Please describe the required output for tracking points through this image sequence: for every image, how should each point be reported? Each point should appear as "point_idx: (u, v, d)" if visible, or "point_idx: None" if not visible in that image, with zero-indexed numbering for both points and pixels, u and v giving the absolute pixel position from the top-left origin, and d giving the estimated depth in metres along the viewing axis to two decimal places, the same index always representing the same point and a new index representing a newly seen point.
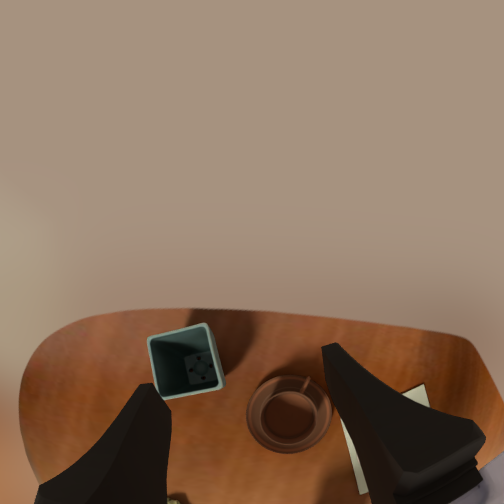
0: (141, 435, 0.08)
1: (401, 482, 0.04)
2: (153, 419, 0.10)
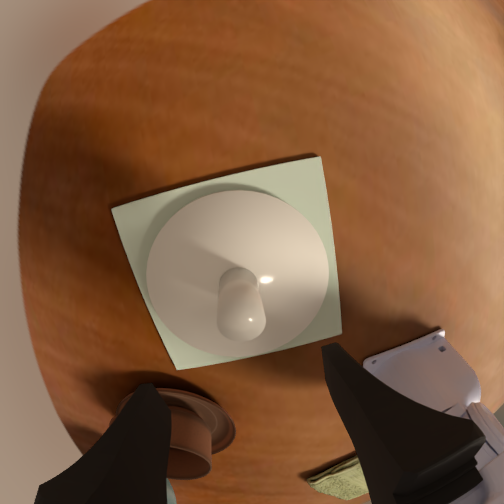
0: (141, 435, 0.08)
1: (401, 482, 0.04)
2: (153, 419, 0.10)
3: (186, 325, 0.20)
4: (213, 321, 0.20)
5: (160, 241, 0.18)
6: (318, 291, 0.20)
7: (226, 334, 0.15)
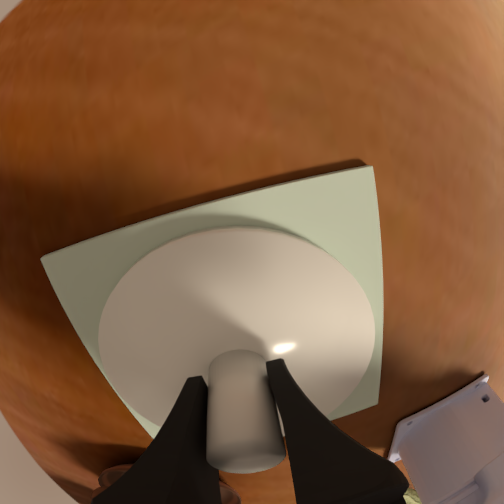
0: (197, 431, 0.08)
1: None
2: (205, 413, 0.10)
3: (167, 415, 0.13)
4: None
5: (110, 313, 0.10)
6: (356, 368, 0.13)
7: (223, 468, 0.08)
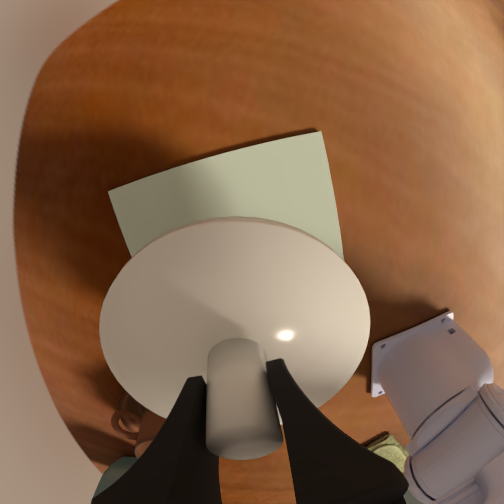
0: (197, 431, 0.08)
1: None
2: (205, 413, 0.10)
3: (167, 403, 0.13)
4: None
5: (112, 303, 0.11)
6: (352, 357, 0.13)
7: (222, 454, 0.08)
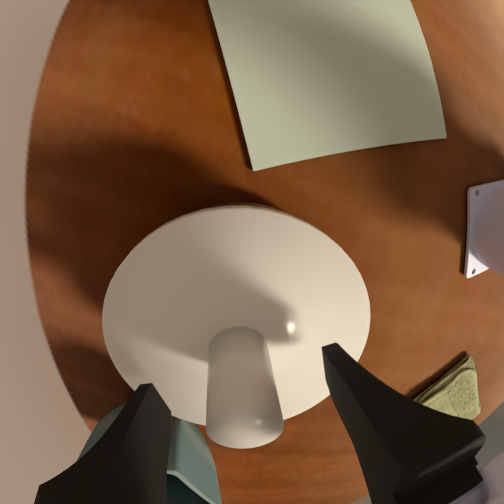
0: (141, 435, 0.08)
1: (401, 482, 0.04)
2: (153, 419, 0.10)
3: (164, 394, 0.13)
4: (201, 391, 0.13)
5: (118, 285, 0.11)
6: (351, 353, 0.13)
7: (221, 442, 0.09)
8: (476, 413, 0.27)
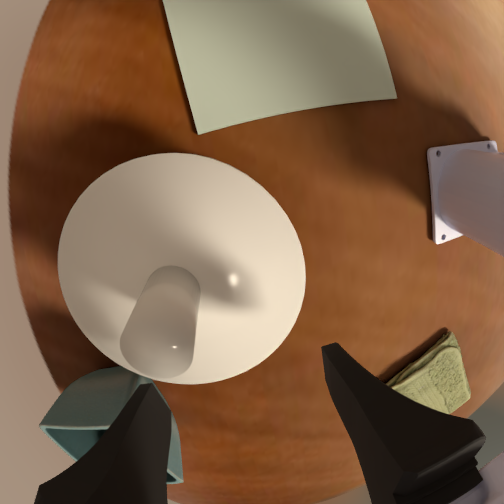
0: (141, 435, 0.08)
1: (401, 482, 0.04)
2: (153, 419, 0.10)
3: (112, 340, 0.14)
4: None
5: (70, 226, 0.12)
6: (290, 303, 0.14)
7: (137, 366, 0.09)
8: (466, 398, 0.28)
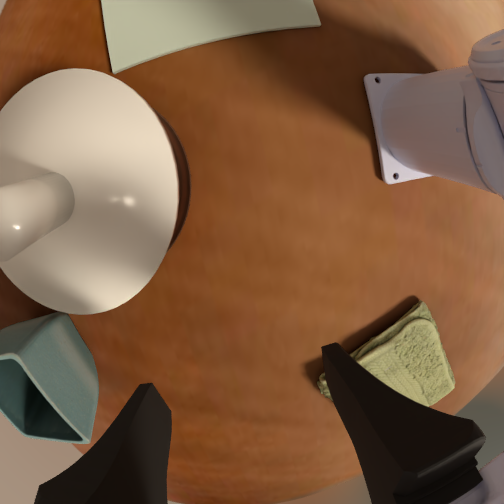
0: (141, 435, 0.08)
1: (401, 482, 0.04)
2: (153, 419, 0.10)
3: (10, 258, 0.12)
4: (33, 253, 0.12)
5: None
6: (161, 214, 0.12)
7: None
8: (449, 387, 0.26)
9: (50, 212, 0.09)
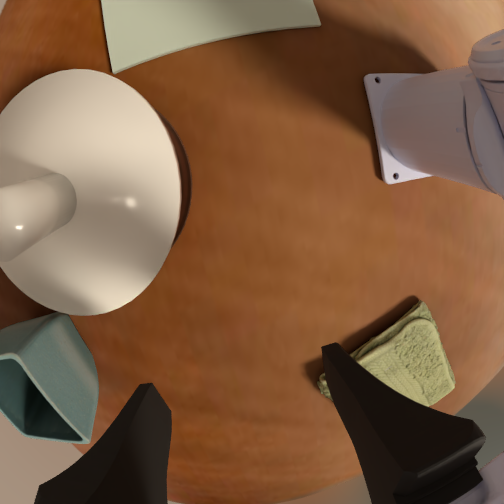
0: (141, 435, 0.08)
1: (401, 482, 0.04)
2: (153, 419, 0.10)
3: (12, 260, 0.12)
4: (35, 255, 0.12)
5: None
6: (164, 213, 0.12)
7: None
8: (449, 387, 0.26)
9: (52, 212, 0.09)
